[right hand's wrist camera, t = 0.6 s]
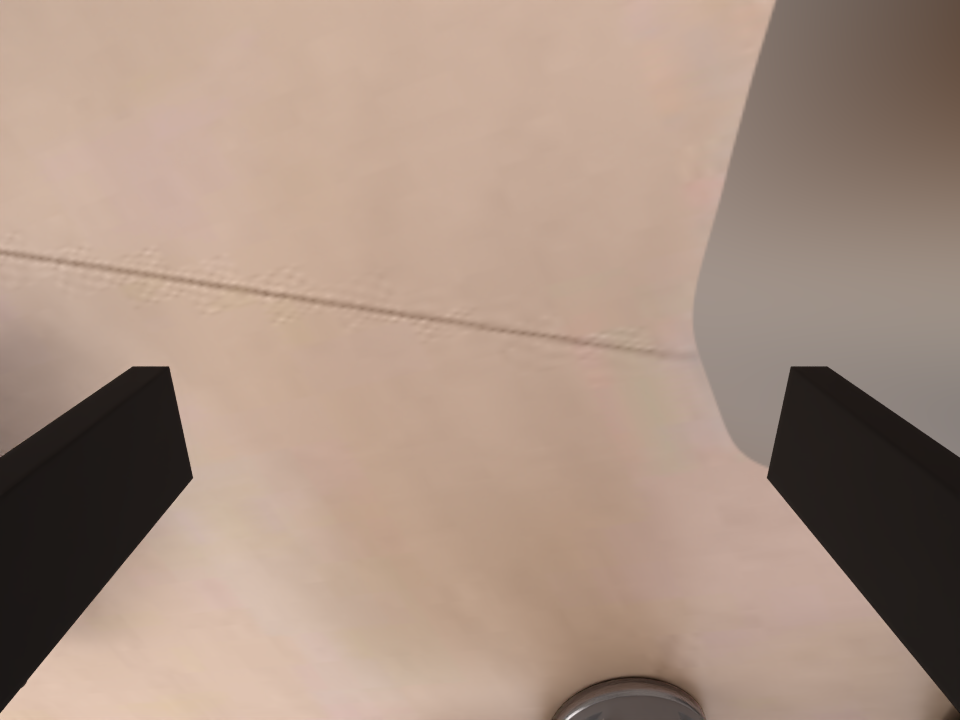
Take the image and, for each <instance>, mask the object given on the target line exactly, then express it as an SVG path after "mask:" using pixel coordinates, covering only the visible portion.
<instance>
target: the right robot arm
mask: <svg viewBox="0 0 960 720" xmlns="http://www.w3.org/2000/svg"><path fill="white" fill-rule="evenodd" d="M192 479H193V476H192V471H191V466H190V462H189V457H188V452H187V448H186V443H185V438H184V434H183V429H182V424H181V420H180V415H179V410H178V406H177V401H176V396H175V392H174V387H173V382H172V378H171V373H170V368H169V367H131V368H130V369H128V370H127V371H126V372H124V373H123V374H121V375H120V376H118V377H117V378H115V379H114V380H112V381H111V382H110V383H108V384H107V385H105V386H104V387H102V388H101V389H99V390H98V391H96V392H95V393H94V394H92V395H91V396H89V397H88V398H86V399H85V400H83V401H82V402H80V403H79V404H78V405H76V406H75V407H73V408H72V409H70V410H69V411H67V412H66V413H64V414H63V415H62V416H60V417H59V418H57V419H56V420H54V421H53V422H51V423H50V424H48V425H47V426H46V427H44V428H43V429H41V430H40V431H38V432H37V433H35V434H34V435H32V436H31V437H30V438H28V439H27V440H25V441H24V442H22V443H21V444H19V445H18V446H16V447H15V448H13V449H12V450H11V451H9V452H8V453H6V454H5V455H3V456H2V457H0V713H1V712H2V710H3V709H4V708H5V707H6V705H7V704H8V703H9V702H10V701H11V699H12V698H13V697H14V696H15V695H16V693H17V692H18V691H19V690H20V688H21V687H22V686H23V685H24V684H25V682H26V681H27V680H28V679H29V677H30V676H31V675H32V674H33V673H34V671H35V670H36V669H37V668H38V666H39V665H40V664H41V663H42V662H43V660H44V659H45V658H46V657H47V655H48V654H49V653H50V652H51V651H52V649H53V648H54V647H55V646H56V644H57V643H58V642H59V641H60V640H61V638H62V637H63V636H64V635H65V634H66V632H67V631H68V630H69V629H70V627H71V626H72V625H73V624H74V623H75V621H76V620H77V619H78V618H79V616H80V615H81V614H82V613H83V612H84V610H85V609H86V608H87V607H88V605H89V604H90V603H91V602H92V601H93V599H94V598H95V597H96V596H97V594H98V593H99V592H100V591H101V590H102V588H103V587H104V586H105V585H106V584H107V582H108V581H109V580H110V579H111V577H112V576H113V575H114V574H115V573H116V571H117V570H118V569H119V568H120V566H121V565H122V564H123V563H124V562H125V560H126V559H127V558H128V557H129V555H130V554H131V553H132V552H133V551H134V549H135V548H136V547H137V546H138V544H139V543H140V542H141V541H142V540H143V538H144V537H145V536H146V535H147V533H148V532H149V531H150V530H151V529H152V527H153V526H154V525H155V524H156V523H157V521H158V520H159V519H160V518H161V516H162V515H163V514H164V513H165V512H166V510H167V509H168V508H169V507H170V505H171V504H172V503H173V502H174V501H175V499H176V498H177V497H178V496H179V494H180V493H181V492H182V491H183V490H184V488H185V487H186V486H187V485H188V483H189V482H190V481H191V480H192ZM767 479H768V480H769V481H770V482H771V483H772V485H773V486H774V487H775V488H776V490H777V491H778V492H779V493H780V494H781V496H782V497H783V498H784V499H785V501H786V502H787V503H788V504H789V505H790V507H791V508H792V509H793V510H794V512H795V513H796V514H797V515H798V516H799V518H800V519H801V520H802V521H803V523H804V524H805V525H806V526H807V527H808V529H809V530H810V531H811V532H812V533H813V535H814V536H815V537H816V538H817V540H818V541H819V542H820V543H821V544H822V546H823V547H824V548H825V549H826V551H827V552H828V553H829V554H830V555H831V557H832V558H833V559H834V560H835V562H836V563H837V564H838V565H839V566H840V568H841V569H842V570H843V571H844V573H845V574H846V575H847V576H848V577H849V579H850V580H851V581H852V582H853V584H854V585H855V586H856V587H857V588H858V590H859V591H860V592H861V593H862V594H863V596H864V597H865V598H866V599H867V601H868V602H869V603H870V604H871V605H872V607H873V608H874V609H875V610H876V612H877V613H878V614H879V615H880V616H881V618H882V619H883V620H884V621H885V623H886V624H887V625H888V626H889V627H890V629H891V630H892V631H893V632H894V634H895V635H896V636H897V637H898V638H899V640H900V641H901V642H902V643H903V644H904V646H905V647H906V648H907V649H908V651H909V652H910V653H911V654H912V655H913V657H914V658H915V659H916V660H917V662H918V663H919V664H920V665H921V666H922V668H923V669H924V670H925V671H926V673H927V674H928V675H929V676H930V677H931V679H932V680H933V681H934V682H935V684H936V685H937V686H938V687H939V688H940V690H941V691H942V692H943V693H944V695H945V696H946V697H947V698H948V699H949V701H950V702H951V703H952V704H953V705H954V707H955V708H956V709H957V710H958V712H959V713H960V457H958V456H957V455H955V454H954V453H952V452H951V451H949V450H948V449H946V448H945V447H944V446H942V445H941V444H939V443H938V442H936V441H935V440H933V439H932V438H930V437H929V436H928V435H926V434H925V433H923V432H922V431H920V430H919V429H917V428H916V427H914V426H913V425H912V424H910V423H909V422H907V421H906V420H904V419H903V418H901V417H900V416H898V415H897V414H896V413H894V412H893V411H891V410H890V409H888V408H887V407H885V406H884V405H882V404H881V403H880V402H878V401H876V400H875V399H874V398H872V397H871V396H869V395H868V394H866V393H865V392H864V391H862V390H861V389H859V388H858V387H856V386H855V385H853V384H852V383H850V382H849V381H848V380H846V379H845V378H843V377H842V376H840V375H839V374H837V373H836V372H834V371H833V370H832V369H830V368H829V367H791V368H790V373H789V378H788V383H787V387H786V392H785V396H784V401H783V406H782V411H781V415H780V420H779V424H778V429H777V434H776V438H775V443H774V448H773V452H772V457H771V462H770V466H769V471H768V476H767ZM552 720H706V718H705V716H704V713H703V711H702V709H701V707H700V706H699V704H698V703H697V702H696V701H695V700H694V699H693V698H692V697H691V696H690V695H689V694H687V693H686V692H685V691H683V690H681V689H679V688H677V687H675V686H673V685H671V684H668V683H665V682H661V681H657V680H652V679H643V678H625V679H617V680H611V681H607V682H603V683H600V684H597V685H594V686H591V687H589V688H587V689H585V690H583V691H581V692H579V693H577V694H576V695H574V696H573V697H571V698H570V699H569V700H568V701H566V702H565V703H564V704H563V705H562V706H561V707H560V708H559V710H558V711H557V712H556V714H555V715H554V717H553V719H552Z"/></svg>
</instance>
